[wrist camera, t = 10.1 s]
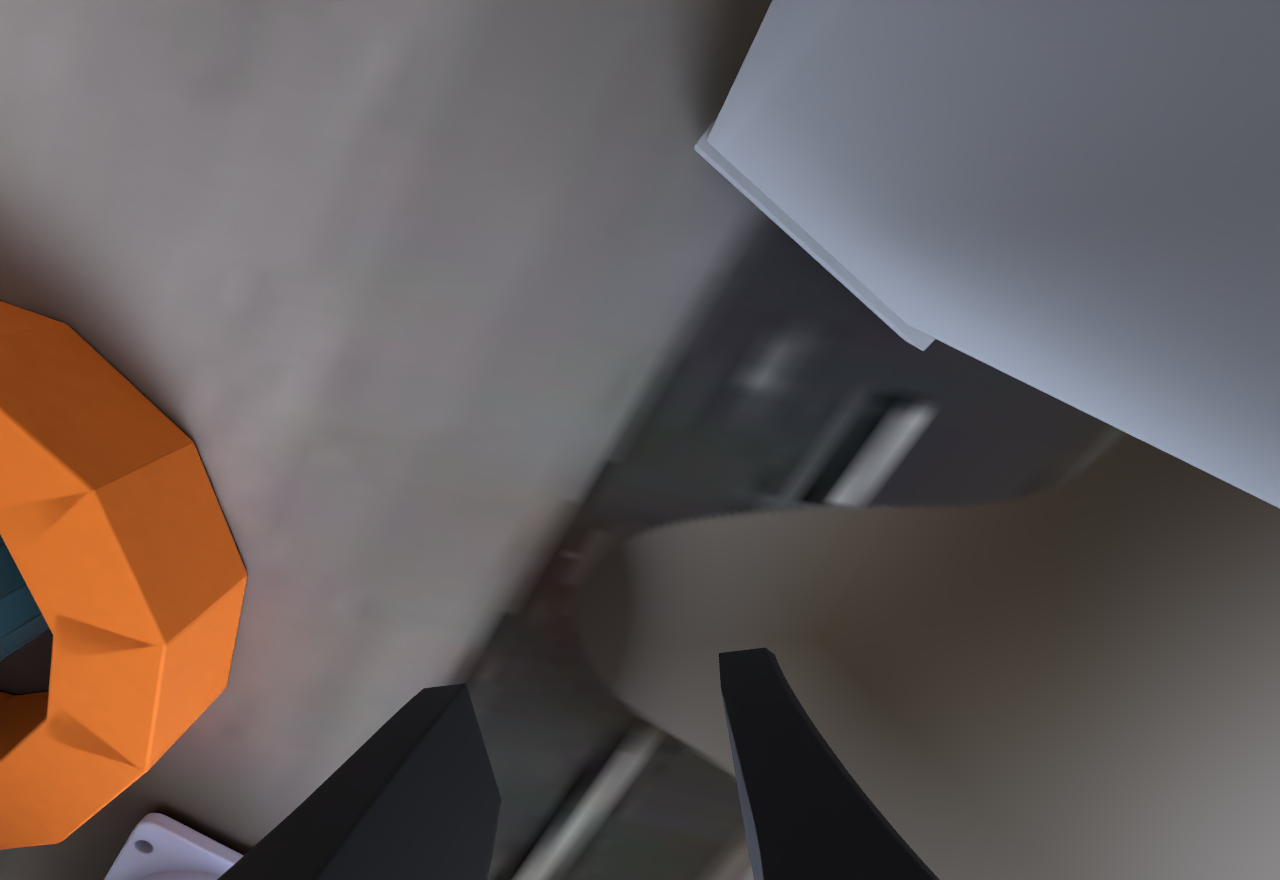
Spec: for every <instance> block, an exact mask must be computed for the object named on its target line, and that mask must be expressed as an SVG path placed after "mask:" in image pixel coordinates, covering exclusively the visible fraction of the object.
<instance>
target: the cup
mask: <svg viewBox="0 0 1280 880" xmlns="http://www.w3.org/2000/svg"><path fill="white" fill-rule="evenodd" d="M48 629H50V628H49V626H48V624H47V623H46V621H45V619H44V617H43V615H42V613H41V611H40V609H39V607H38V605H37V603H36V602H35V600H34V598H33V596H32V594H31V592H30V590H29V588H28V586H27V584H26V582H25V581H24V579H23V577H22V575H21V573H20V571H19V569H18V567H17V565H16V563H15V561H14V559H13V558H12V556H11V554H10V552H9V550H8V548H7V546H6V544H5V542H4V540H3V538H2V537H1V535H0V661H2V660H3V659H5V658H6V657H8V656H9V655H11V654H12V653H14V652H15V651H17V650H18V649H20V648H21V647H23V646H24V645H26V644H27V643H29V642H30V641H32V640H33V639H35V638H36V637H38V636H39V635H41V634H42V633H44V632H45V631H47V630H48Z"/></svg>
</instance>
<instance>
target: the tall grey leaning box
mask: <svg viewBox="0 0 1280 880" xmlns="http://www.w3.org/2000/svg"><path fill="white" fill-rule="evenodd" d="M694 150H695V151H696V152H698V153H699V154H700V155H701V156H702V157H703V158H704V159H705V160H706V161H707V162H709V163H710V164H711V165H712V166H713V167H714V168H715V169H716V170H717V171H718V172H720V173H721V174H722V175H723V176H724V177H725V178H726V179H727V180H728V181H729V182H731V183H732V184H733V185H734V186H735V187H736V188H737V189H738V190H739V191H741V192H742V193H743V194H744V195H745V196H746V197H747V198H748V199H749V200H750V201H752V202H753V203H754V204H755V205H756V206H757V207H758V208H759V209H760V210H761V211H763V212H764V213H765V214H766V215H767V216H768V217H769V218H770V219H771V220H772V221H774V222H775V223H776V224H777V225H778V226H779V227H780V228H781V229H782V230H784V231H785V232H786V233H787V234H788V235H789V236H790V237H791V238H792V239H793V240H795V241H796V242H797V243H798V244H799V245H800V246H801V247H802V248H803V249H804V250H806V251H807V252H808V253H809V254H810V255H811V256H812V257H813V258H814V259H815V260H817V261H818V262H819V263H820V264H821V265H822V266H823V267H824V268H825V269H827V270H828V271H829V272H830V273H831V274H832V275H833V276H834V277H835V278H836V279H838V280H839V281H840V282H841V283H842V284H843V285H844V286H845V287H846V288H847V289H849V290H850V291H851V292H852V293H853V294H854V295H855V296H856V297H857V298H858V299H860V300H861V301H862V302H863V303H864V304H865V305H866V306H867V307H868V308H869V309H871V310H872V311H873V312H874V313H875V314H876V315H877V316H878V317H879V318H881V319H882V320H883V321H884V322H885V323H886V324H887V325H888V326H889V327H890V328H892V329H893V330H894V331H895V332H896V333H897V334H898V335H899V336H900V337H901V338H903V339H904V340H905V341H906V342H908V343H910V344H912V345H913V346H915V347H917V348H919V349H921V350H922V351H924V350H925V349H926V348H927V347H928V346H929V345H930V344H931V343H932V342H933V341H934V340H935V339H937V340H939V341H941V342H943V343H945V344H947V345H949V346H951V347H953V348H956V349H958V350H960V351H962V352H964V353H966V354H968V355H970V356H972V357H974V358H976V359H978V360H980V361H982V362H984V363H986V364H988V365H990V366H992V367H994V368H996V369H998V370H1000V371H1002V372H1004V373H1006V374H1008V375H1010V376H1012V377H1014V378H1016V379H1018V380H1020V381H1023V382H1025V383H1027V384H1029V385H1031V386H1033V387H1035V388H1037V389H1039V390H1041V391H1043V392H1045V393H1047V394H1049V395H1051V396H1053V397H1055V398H1057V399H1059V400H1061V401H1063V402H1065V403H1067V404H1069V405H1071V406H1073V407H1075V408H1077V409H1079V410H1081V411H1083V412H1085V413H1087V414H1090V415H1092V416H1094V417H1096V418H1098V419H1100V420H1102V421H1104V422H1106V423H1108V424H1110V425H1112V426H1114V427H1116V428H1118V429H1120V430H1122V431H1124V432H1126V433H1128V434H1130V435H1132V436H1134V437H1136V438H1138V439H1140V440H1142V441H1144V442H1147V443H1148V444H1151V445H1153V446H1155V447H1157V448H1159V449H1161V450H1163V451H1165V452H1167V453H1169V454H1171V455H1173V456H1175V457H1177V458H1179V459H1181V460H1183V461H1185V462H1187V463H1189V464H1191V465H1193V466H1195V467H1197V468H1200V469H1201V470H1203V471H1205V472H1208V473H1209V474H1211V475H1213V476H1216V477H1218V478H1219V479H1221V480H1224V481H1226V482H1228V483H1230V484H1232V485H1234V486H1236V487H1238V488H1240V489H1242V490H1244V491H1246V492H1248V493H1250V494H1252V495H1254V496H1256V497H1258V498H1260V499H1262V500H1264V501H1266V502H1268V503H1270V504H1272V505H1274V506H1276V507H1278V508H1280V0H772V2H771V5H770V7H769V9H768V11H767V13H766V15H765V17H764V19H763V22H762V24H761V26H760V28H759V30H758V32H757V34H756V37H755V39H754V41H753V43H752V45H751V47H750V49H749V51H748V54H747V56H746V58H745V60H744V62H743V64H742V66H741V68H740V71H739V73H738V75H737V77H736V79H735V81H734V83H733V85H732V88H731V90H730V92H729V94H728V96H727V98H726V100H725V102H724V105H723V107H722V109H721V111H720V113H719V115H718V116H717V117H716V119H715V120H714V121H713V123H712V124H711V125H710V126H709V128H708V129H707V130H706V132H705V133H704V134H703V135H702V137H701V138H700V139H699V140H698V142H697V143H696V145H695V148H694Z"/></svg>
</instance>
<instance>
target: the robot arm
mask: <svg viewBox="0 0 1280 880" xmlns="http://www.w3.org/2000/svg"><path fill="white" fill-rule="evenodd" d="M719 663H720V680H721V690H722V696H723V702H724V708H725V714H726V719H727V725H728V732H729V738H730V744H731V750H732V755H733V762H734V768H735V773H736V779H737V785H738V791H739V797H740V803H741V809H742V815H743V821H744V827H745V833H746V839H747V845H748V851H749V857H750V861H751V866H752V871H753V876H754V880H939V879H938V878H937V876H935V874H934V873H933V872H932V871H931V870H930V869H929V868H928V867H927V866H926V865H925V864H924V863H923V861H922V860H921V859H920V858H919V857H918V856H917V854H916V853H915V852H914V851H913V850H912V849H911V848H910V847H909V845H908V844H907V843H906V842H905V841H904V840H903V839H902V837H901V836H900V835H899V834H898V833H897V832H896V831H895V829H894V828H893V827H892V826H891V825H890V823H889V822H888V821H887V820H886V819H885V817H884V816H883V815H882V814H881V812H880V811H879V810H878V809H877V808H876V807H875V805H874V804H873V803H872V802H871V800H870V799H869V798H868V797H867V796H866V794H865V793H864V792H863V791H862V789H861V788H860V787H859V785H858V784H857V783H856V782H855V780H854V779H853V778H852V776H851V775H850V774H849V773H848V771H847V770H846V769H845V767H844V766H843V764H842V763H841V762H840V760H839V759H838V758H837V756H836V755H835V754H834V752H833V751H832V749H831V748H830V747H829V745H828V744H827V743H826V741H825V740H824V739H823V737H822V736H821V734H820V733H819V731H818V730H817V728H816V727H815V726H814V724H813V723H812V721H811V720H810V718H809V717H808V715H807V714H806V712H805V710H804V709H803V707H802V705H801V704H800V702H799V701H798V699H797V698H796V696H795V694H794V692H793V691H792V689H791V687H790V686H789V684H788V682H787V680H786V679H785V676H784V675H783V673H782V671H781V669H780V666H779V664H778V662H777V660H776V657H775V655H774V654H773V653H772V652H771V651H769V650H768V649H766V648H759V649H750V650H742V651H733V652H725V653H719ZM500 804H501V797H500V794H499V790H498V787H497V784H496V781H495V777H494V774H493V771H492V768H491V764H490V761H489V758H488V755H487V751H486V748H485V745H484V742H483V738H482V735H481V732H480V729H479V725H478V722H477V719H476V716H475V712H474V709H473V706H472V702H471V699H470V696H469V693H468V689H467V686H466V684H458V685H449V686H441V687H432V688H424V689H423V690H421V691H420V692H419V693H418V694H417V695H416V696H414V697H413V698H412V699H411V700H410V701H409V702H408V703H407V704H405V705H404V706H403V707H402V708H401V709H400V710H399V711H398V712H397V713H396V714H395V715H394V716H393V717H392V718H390V719H389V720H388V721H387V722H386V723H385V724H384V725H383V726H382V727H381V728H380V729H379V730H378V731H377V732H376V733H375V734H374V735H373V736H372V737H371V738H370V739H369V740H368V741H367V742H366V743H365V744H363V745H362V746H361V747H360V748H359V749H358V750H357V751H356V752H355V753H354V754H353V755H352V756H351V757H350V758H349V759H348V760H347V761H346V762H345V763H344V764H343V765H342V766H341V767H340V768H339V769H337V770H336V771H335V772H334V773H333V774H332V775H331V776H330V777H329V778H328V779H327V780H326V781H325V782H324V783H323V784H322V785H321V786H320V787H319V788H318V789H316V790H315V791H314V792H313V793H312V794H311V795H310V796H309V797H308V798H307V799H306V800H305V801H304V802H303V803H302V804H301V805H300V806H299V807H298V808H296V809H295V810H294V811H293V812H292V813H291V814H290V815H289V816H288V817H287V818H285V819H284V820H283V821H282V822H281V823H280V824H279V825H278V826H276V827H275V828H274V829H273V830H272V831H271V832H270V833H269V834H268V835H266V836H265V837H264V838H263V839H262V840H261V841H260V842H259V843H257V844H256V845H255V846H254V847H253V848H252V849H251V850H250V851H249V852H247V853H246V854H245V855H242V854H240V853H238V852H236V851H234V850H232V849H230V848H228V847H226V846H224V845H222V844H220V843H218V842H216V841H215V840H213V839H211V838H209V837H207V836H205V835H203V834H201V833H199V832H197V831H195V830H193V829H191V828H189V827H187V826H185V825H183V824H182V823H180V822H178V821H176V820H174V819H172V818H170V817H168V816H166V815H163V814H161V813H150V814H147V815H146V816H145V817H144V818H143V819H142V820H141V821H140V822H139V823H138V824H137V825H136V827H135V828H134V830H133V831H132V833H131V835H130V837H129V838H128V840H127V842H126V843H125V845H124V847H123V848H122V850H121V852H120V853H119V855H118V857H117V859H116V860H115V862H114V864H113V865H112V867H111V869H110V870H109V872H108V874H107V875H106V877H105V879H104V880H487V879H488V874H489V868H490V863H491V858H492V852H493V847H494V842H495V835H496V829H497V823H498V817H499V810H500Z"/></svg>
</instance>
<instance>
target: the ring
mask: <svg viewBox="0 0 1280 880" xmlns="http://www.w3.org/2000/svg"><path fill="white" fill-rule="evenodd" d="M0 535H1V537H2V538H3V540H4V542H5V544H6V546H7V548H8V550H9V552H10V554H11V556H12V558H13V559H14V561H15V563H16V565H17V567H18V569H19V571H20V573H21V575H22V577H23V579H24V581H25V582H26V584H27V586H28V588H29V590H30V592H31V594H32V596H33V598H34V600H35V602H36V603H37V605H38V607H39V609H40V611H41V613H42V615H43V617H44V619H45V621H46V623H47V624H48V626H49V628H50V630H51V632H52V634H53V643H52V656H51V668H50V681H49V691H48V692H40V693H32V694H25V695H17V696H14V695H11V694H8V693H5V692H1V691H0V849H10V848H20V847H29V846H39V845H48V844H58V843H60V842H61V841H63V840H65V839H66V838H67V837H68V836H69V835H71V834H72V833H73V832H74V831H75V830H77V829H78V828H79V827H80V826H81V825H83V824H84V823H85V822H86V821H88V820H89V819H90V818H91V817H92V816H94V815H95V814H96V813H97V812H98V811H100V810H101V809H102V808H103V807H105V806H106V805H107V804H108V803H109V802H111V801H112V800H113V799H114V798H115V797H117V796H118V795H119V794H120V793H122V792H123V791H124V790H125V789H126V788H128V787H129V786H130V785H131V784H132V783H134V782H135V781H136V780H137V779H139V778H140V777H141V776H142V775H143V774H145V773H146V772H147V771H148V770H149V769H150V768H151V767H152V766H153V765H154V764H155V763H156V762H157V761H158V760H159V759H160V757H161V756H162V755H163V754H164V753H165V752H166V751H167V750H168V749H169V748H170V747H171V746H172V745H173V744H174V743H175V742H176V740H177V739H178V738H179V737H180V736H181V735H182V734H183V733H184V732H185V731H186V730H187V729H188V728H189V727H190V726H191V725H192V723H193V722H194V721H195V720H196V719H197V718H198V717H199V716H200V715H201V714H202V713H203V712H204V711H205V710H206V709H207V708H208V706H209V705H210V704H211V703H212V702H213V701H214V700H215V699H216V698H217V697H218V696H219V695H220V694H221V693H222V692H223V691H224V689H225V688H226V686H227V683H228V678H229V672H230V667H231V662H232V656H233V651H234V645H235V640H236V635H237V629H238V624H239V619H240V613H241V608H242V603H243V597H244V592H245V586H246V581H247V572H246V569H245V567H244V564H243V562H242V559H241V557H240V555H239V552H238V550H237V547H236V545H235V542H234V540H233V537H232V535H231V532H230V530H229V528H228V525H227V523H226V520H225V518H224V515H223V513H222V510H221V508H220V505H219V503H218V500H217V498H216V496H215V493H214V491H213V488H212V486H211V483H210V481H209V478H208V476H207V473H206V471H205V469H204V466H203V464H202V461H201V459H200V456H199V454H198V451H197V449H196V446H195V444H194V442H193V441H192V440H191V439H190V438H189V437H188V436H187V435H186V434H185V433H184V432H182V431H181V430H180V429H179V428H178V427H177V426H176V425H175V424H174V423H173V422H172V421H171V420H170V419H168V418H167V417H166V416H165V415H164V414H163V413H162V412H161V411H160V410H159V409H158V408H157V407H156V406H155V405H153V404H152V403H151V402H150V401H149V400H148V399H147V398H146V397H145V396H144V395H143V394H142V393H141V392H139V391H138V390H137V389H136V388H135V387H134V386H133V385H132V384H131V383H130V382H129V381H128V380H127V379H125V378H124V377H123V376H122V375H121V374H120V373H119V372H118V371H117V370H116V369H115V368H114V367H113V366H112V365H110V364H109V363H108V362H107V361H106V360H105V359H104V358H103V357H102V356H101V355H100V354H99V353H98V352H96V351H95V350H94V349H93V348H92V347H91V346H90V345H89V344H88V343H87V342H86V341H85V340H84V339H82V338H81V337H80V336H79V335H78V334H77V333H76V332H75V331H74V330H73V329H72V328H71V327H70V326H68V325H67V324H65V323H63V322H60V321H57V320H54V319H51V318H48V317H45V316H43V315H40V314H37V313H34V312H31V311H28V310H25V309H22V308H19V307H17V306H14V305H11V304H8V303H5V302H2V301H0Z"/></svg>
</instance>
